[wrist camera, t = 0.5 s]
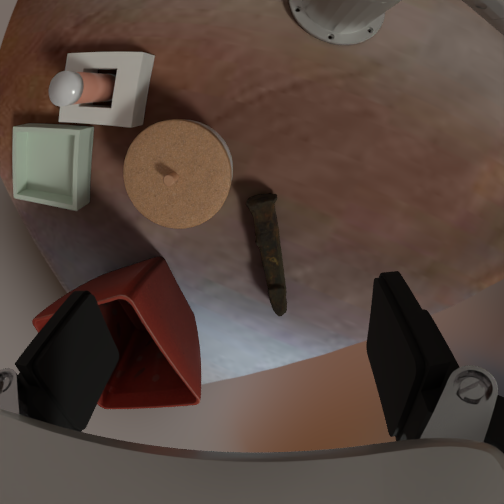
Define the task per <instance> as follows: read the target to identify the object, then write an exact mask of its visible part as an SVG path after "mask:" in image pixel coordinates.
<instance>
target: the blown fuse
mask: <svg viewBox="0 0 504 504" xmlns="http://www.w3.org/2000/svg"><path fill="white" fill-rule="evenodd" d="M115 80H116V75H115V74H102V73H88V72H75V71H62V72H59V73H58V74H56V75H55V76H54V78H53V79H52V81H51V83H50V86H49V97H50V100H51V101H52V103H53V104H54V105H56V106H68V105H73V104H82V103H92V102H109V101H112V99H113V92H114V86H115Z"/></svg>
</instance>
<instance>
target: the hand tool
mask: <svg viewBox="0 0 504 504" xmlns="http://www.w3.org/2000/svg"><path fill="white" fill-rule="evenodd" d="M276 200H277V195H276V194H272V193H270V194H261V195H256V196H253V197H251V198H249V200H248V201H247V202H246V205H247V206H248V208H249V209H250V211H251V213H252V215H253V219H254V225H255V235H256V245H258V246H259V248H260V252H261V257H262V263H263V267H264V271H265V275H266V282H267V286H268V294H269V298H270V303H271V305H272V308H273V310H274V312H275V313H276V314H277V315H278V316H282V315H283V314H284V313H286V311H287V301H286V285H285V278H284V269H283V261H282V253H281V246H280V239H279V228H278V222H277V216H276V212H275V204H274V203H275V202H276Z"/></svg>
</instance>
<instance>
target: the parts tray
mask: <svg viewBox="0 0 504 504" xmlns="http://www.w3.org/2000/svg"><path fill="white" fill-rule="evenodd" d="M93 133H94V127H90V126H77V125H61V124H40V123H27V124H23V125H18V126H14V127H13V151H12V161H13V192H14V198H16V199H21V200H26V201H31V202H35V203H40V204H45V205H50V206H55V207H60V208H64V209H69V210H74V211H78V210H79V209H81V208H82V207H84V206H85V205H87V204H88V203H90V179H91V159H92V145H93Z"/></svg>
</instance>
